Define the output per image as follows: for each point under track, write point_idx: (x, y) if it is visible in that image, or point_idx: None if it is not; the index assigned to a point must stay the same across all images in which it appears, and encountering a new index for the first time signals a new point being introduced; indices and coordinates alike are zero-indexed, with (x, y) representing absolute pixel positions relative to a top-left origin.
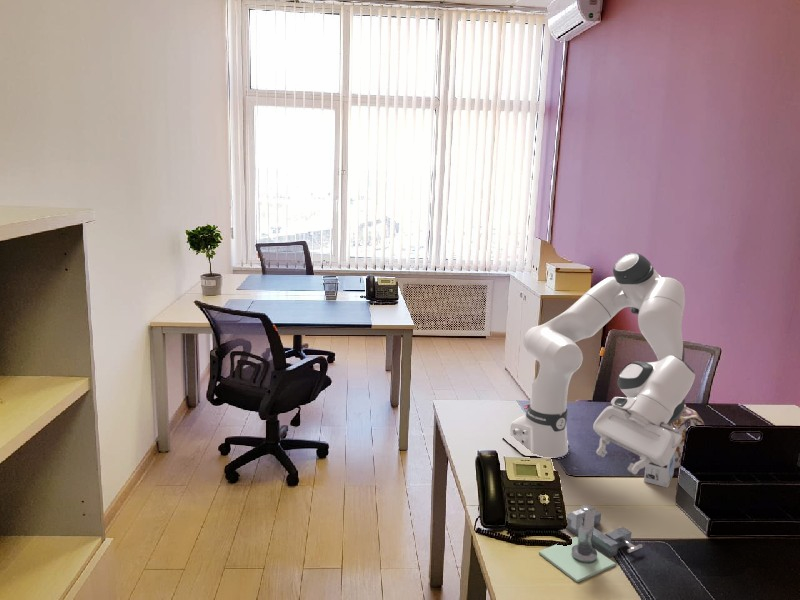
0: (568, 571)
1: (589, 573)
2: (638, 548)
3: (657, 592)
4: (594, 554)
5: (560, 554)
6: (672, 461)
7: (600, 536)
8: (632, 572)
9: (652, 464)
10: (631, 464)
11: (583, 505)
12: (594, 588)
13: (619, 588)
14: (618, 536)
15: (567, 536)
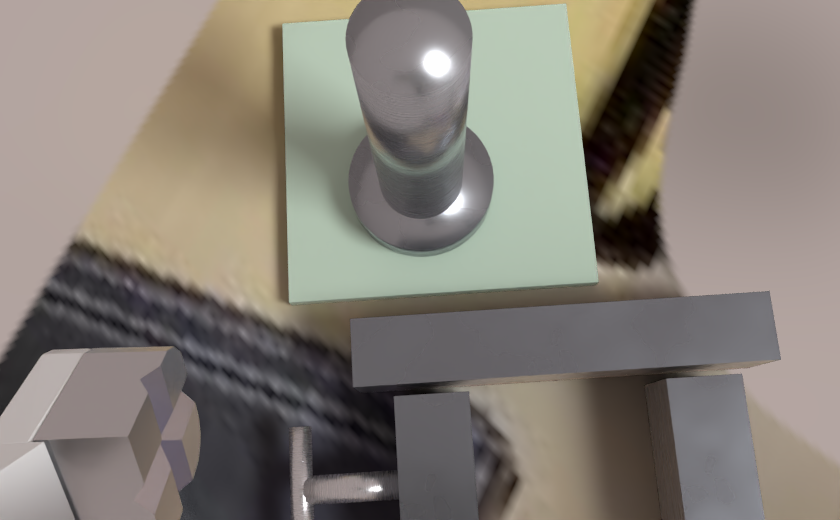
0: None
1: (292, 111)
2: (291, 514)
3: (21, 336)
4: (371, 211)
5: (492, 85)
6: None
7: (461, 337)
8: (201, 346)
9: None
10: (107, 412)
11: (468, 40)
12: (212, 76)
13: (147, 184)
14: (406, 448)
15: (635, 256)
